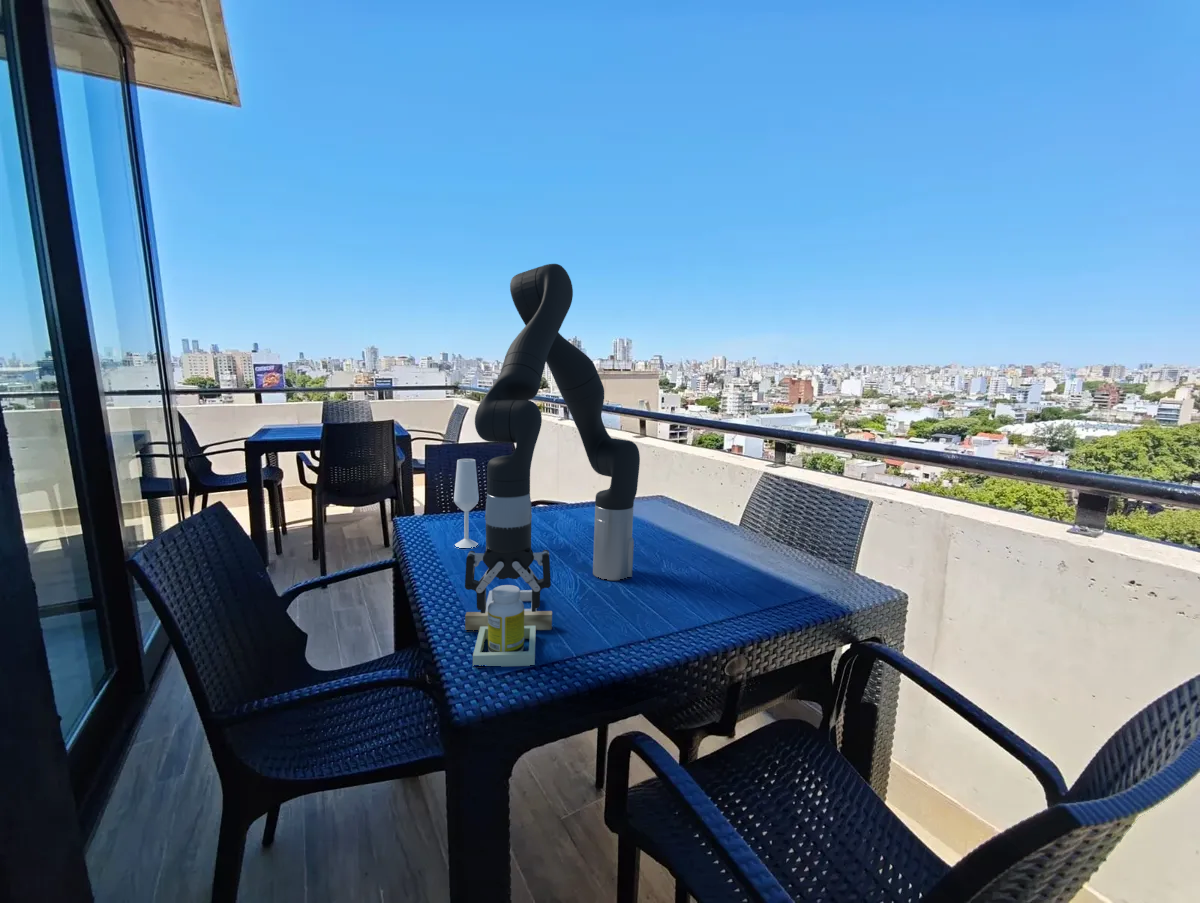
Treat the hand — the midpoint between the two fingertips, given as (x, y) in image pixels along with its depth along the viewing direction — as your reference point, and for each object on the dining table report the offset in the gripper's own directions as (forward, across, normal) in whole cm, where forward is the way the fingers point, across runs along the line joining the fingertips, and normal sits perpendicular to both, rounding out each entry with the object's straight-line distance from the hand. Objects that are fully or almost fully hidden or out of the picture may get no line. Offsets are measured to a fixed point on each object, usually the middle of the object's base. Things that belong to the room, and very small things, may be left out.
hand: (508, 610), depth 89 cm
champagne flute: (+8, +15, -57) cm, 60 cm away
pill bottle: (+8, 0, 0) cm, 8 cm away
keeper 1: (+7, 0, -16) cm, 18 cm away
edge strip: (+7, 0, -8) cm, 11 cm away
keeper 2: (+7, 0, 0) cm, 7 cm away
